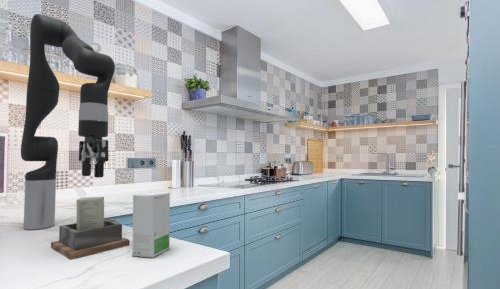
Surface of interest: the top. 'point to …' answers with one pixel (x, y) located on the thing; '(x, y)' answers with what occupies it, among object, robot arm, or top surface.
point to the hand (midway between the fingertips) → (92, 176)
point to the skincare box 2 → (151, 224)
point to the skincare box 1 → (90, 213)
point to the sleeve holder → (89, 240)
